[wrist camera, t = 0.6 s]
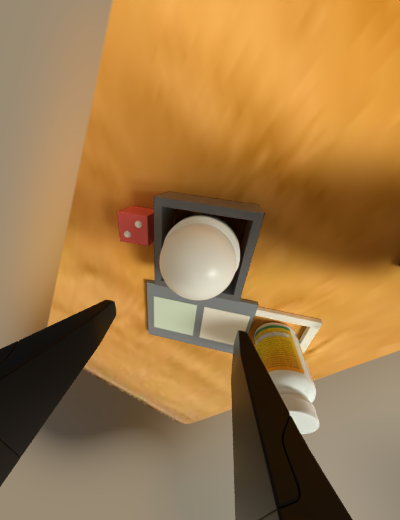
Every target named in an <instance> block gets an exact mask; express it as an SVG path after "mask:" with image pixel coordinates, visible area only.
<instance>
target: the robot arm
mask: <svg viewBox="0 0 400 520" xmlns="http://www.w3.org/2000/svg"><path fill="white" fill-rule="evenodd" d="M115 316H116V307H115V302H114V301H111V300H104V301H102V302H100V303H98V304H96V305H94V306H92V307H89V308H87V309H85V310H83V311H81V312H79V313H77V314H75V315H72V316H70V317H68V318H66V319H64V320H62V321H60V322H57V323H55V324H53V325H51V326H49V327H47V328H45V329H42V330H41V331H38V332H36V333H34V334H32V335H30V336H28V337H26V338H23V339H21V340H20V341H19V342H18V341H17V342H15V343H12V344H10V345H8V346H6V347H4V348H2V349H0V486H1V485H2V483H3V482H4V480H5V479H6V478H7V476H8V475H9V473H10V472H11V470H12V469H13V468H14V466H15V465H16V463H17V462H18V461H19V459H20V457H21V456H22V455H23V453H24V452H25V450H26V449H27V447H28V446H29V444H30V443H31V442H32V440H33V439H34V437H35V436H36V434H37V433H38V432H39V430H40V429H41V427H42V426H43V424H44V423H45V422H46V420H47V419H48V417H49V416H50V414H51V413H52V412H53V410H54V409H55V407H56V406H57V405H58V403H59V402H60V400H61V399H62V397H63V396H64V395H65V393H66V392H67V390H68V389H69V388H70V386H71V385H72V383H73V382H74V380H75V379H76V378H77V376H78V375H79V373H80V372H81V370H82V369H83V368H84V366H85V365H86V363H87V362H88V360H89V359H90V358H91V356H92V355H93V353H94V352H95V350H96V349H97V347H98V346H99V345H100V343H101V341H102V340H103V338H104V336H105V334H106V332H107V331H108V329H109V327H110V325H111V324H112V322H113V320H114V318H115ZM231 391H232V423H233V455H234V487H235V516H236V517H235V518H236V520H352V518H351V516H350V515H349V513H348V512H347V510H346V508H345V507H344V505H343V504H342V502H341V500H340V499H339V497H338V495H337V494H336V492H335V491H334V489H333V487H332V486H331V484H330V483H329V481H328V479H327V478H326V476H325V475H324V473H323V471H322V469H321V468H320V466H319V464H318V463H317V461H316V459H315V458H314V456H313V455H312V453H311V451H310V450H309V448H308V446H307V444H306V442H305V440H304V439H303V437H302V435H301V433H300V431H299V430H298V428H297V426H296V424H295V422H294V420H293V418H292V416H290V413H289V411H288V409H287V407H286V405H285V403H284V401H283V399H282V398H281V396H280V394H279V392H278V390H277V388H276V386H275V384H274V382H273V380H272V379H271V377H270V375H269V373H268V371H267V369H266V367H265V365H264V363H263V362H262V360H261V358H260V356H259V354H258V352H257V350H256V348H255V346H254V344H253V343H252V341H251V339H250V337H249V335H248V333H247V332H246V331H241V330H238V332H237V335H236V338H235V341H234V348H233V361H232V374H231Z"/></svg>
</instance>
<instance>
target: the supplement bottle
mask: <svg viewBox="0 0 400 520" xmlns="http://www.w3.org/2000/svg"><path fill="white" fill-rule="evenodd" d="M254 340H255V348H256V350H257V352H258V354H259V356H260V358H261V360H262V362H263V363H264V365H265V367H266V369H267V371H268V373H269V375H270V377H271V379H272V380H273V382H274V384H275V386H276V388H277V390H278V392H279V394H280V396H281V398H282V399H283V401H284V403H285V405H286V407H287V409H288V411H289V413H290V416H292V418H293V420H294V422H295V424H296V426H297V428H298V430H299V431H300V433H301V434H308V433H312V432H314V431H316V430H317V429H318V428H319V421H318V418H317V415H316V411H315V408H314V406H313V405H312V402H313V400H314V399H315V395H316V390H315V385H314V382H313V379H312V377H311V374H310V371H309V369H308V366H307V363H306V361H305V358H304V355H303V352H302V350H301V347H300V344H299V341H298V338H297V336H296V334H295V332H294V331H293V329H292V328H290V327H289V326H287V325H285V324H282V323H276V322H270V323H265V324H263V325H261V326H260V327H259V328H258V329H257V330H256V331H255V335H254Z"/></svg>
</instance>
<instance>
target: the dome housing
mask: <svg viewBox="0 0 400 520" xmlns="http://www.w3.org/2000/svg"><path fill="white" fill-rule="evenodd" d="M175 209H181V210H188V211H194V212H200V213H207V214H213V215H219V216H226V217H232V218H238V219H245V220H247V224H246V228H245V232H244V236H243V240H242V244H241V248H240V262H239V266H238V269H237V270H236V272H235V274H234V277H233V279H232V281H231V283H230V284H229V285H228V287H227V288H226V289H225V290H224V291H223V292H221V293H220V294H219V295H217V296H215V297H217V298H222V299H226V300H231V301H236V302H239V301H240V297H241V294H242V290H243V287H244V284H245V280H246V277H247V273H248V270H249V266H250V263H251V259H252V256H253V252H254V249H255V246H256V242H257V239H258V235H259V232H260V228H261V225H262V221H263V218H264V215H265V213H264V212H263V210H262V209H261V207H260V206H259V205H256V204H249V203H243V202H236V201H229V200H222V199H216V198H209V197H202V196H195V195H189V194H182V193H175V192H166V193H163V194H160V195H157V196H154V209H150V208H144V207H138V206H131V207H128V208H126V209H123V210H120V211H117V216H118V225H119V234H120V241H123V242H129V243H134V244H140V245H145V246H149V245H150V244H151V243H152V242H153V241H154V263H155V285H159V286H163V287H168V286H167V284H166V283H165V281H164V279H163V277H162V274H161V271H160V264H159V260H160V253H161V250H162V247H163V244H164V240H165V238H166V236H167V234H168V232H169V231H170V230H171V229H172V228H173V227H174V218H175ZM168 288H169V287H168Z"/></svg>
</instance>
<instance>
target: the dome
mask: <svg viewBox="0 0 400 520" xmlns="http://www.w3.org/2000/svg"><path fill="white" fill-rule="evenodd" d="M239 262H240V247H239V241H238V238H237V236H236V234H235V232H234V231H233V229H232V228H231V227H230V226H229V225H228V224H227V223H226V222H224V221H223V220H222V219H220V218H218V217H215V216H212V215H208V214H195V215H191V216H188V217H186V218H184V219H182V220H181V221H179V222H178V223H177V224H176V225H175V226H174V227H173V228H172V229H171V230H170V231H169V232H168V234H167V236H166V238H165V240H164V244H163V247H162V250H161V253H160V260H159V264H160V271H161V274H162V277H163V279H164V281H165V283H166V284H167V286H168V287H169V288H170V289H171V290H172V291H173V292H175V293H176V294H177V295H179V296H181V297H183V298H186V299H190V300H207V299H210V298H213V297H215V296H217V295H219V294H220V293H221V292H223V291H224V290H225V289H226V288H227V287H228V285H229V284H230V283H231V281H232V279H233V277H234V274H235V272H236V270H237V269H238V266H239Z"/></svg>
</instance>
